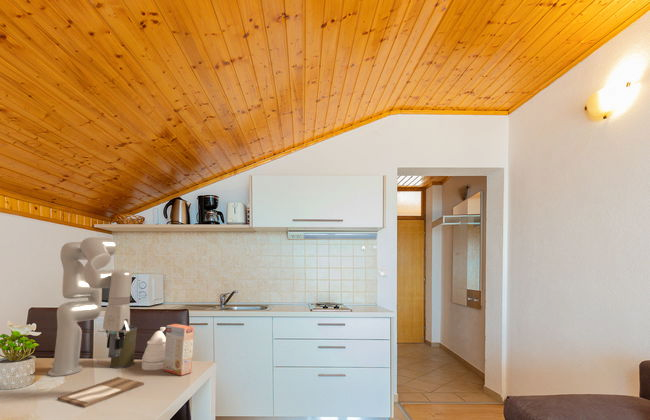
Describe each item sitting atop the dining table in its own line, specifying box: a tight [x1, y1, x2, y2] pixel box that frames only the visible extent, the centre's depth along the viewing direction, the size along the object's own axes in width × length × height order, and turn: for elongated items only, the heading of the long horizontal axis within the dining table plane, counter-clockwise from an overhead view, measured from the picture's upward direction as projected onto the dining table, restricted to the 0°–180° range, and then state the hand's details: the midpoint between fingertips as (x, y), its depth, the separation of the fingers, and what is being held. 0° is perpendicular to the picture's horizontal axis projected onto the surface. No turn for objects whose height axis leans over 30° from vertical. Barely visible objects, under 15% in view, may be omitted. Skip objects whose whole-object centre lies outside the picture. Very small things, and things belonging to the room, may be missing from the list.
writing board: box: [56, 376, 145, 409], centre depth 135 cm, size 16×24×1 cm, turn 157°
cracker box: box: [162, 323, 195, 376], centre depth 161 cm, size 14×6×21 cm, turn 58°
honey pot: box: [141, 326, 167, 371], centre depth 168 cm, size 13×13×18 cm
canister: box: [109, 322, 138, 369], centre depth 169 cm, size 11×10×20 cm
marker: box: [107, 331, 122, 359], centre depth 137 cm, size 4×4×12 cm
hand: (114, 347), depth 137 cm, fingers closed on marker, 4 cm apart
